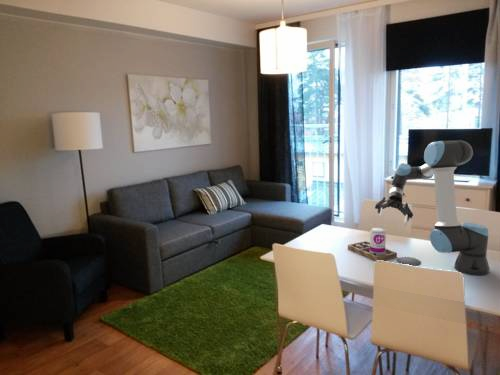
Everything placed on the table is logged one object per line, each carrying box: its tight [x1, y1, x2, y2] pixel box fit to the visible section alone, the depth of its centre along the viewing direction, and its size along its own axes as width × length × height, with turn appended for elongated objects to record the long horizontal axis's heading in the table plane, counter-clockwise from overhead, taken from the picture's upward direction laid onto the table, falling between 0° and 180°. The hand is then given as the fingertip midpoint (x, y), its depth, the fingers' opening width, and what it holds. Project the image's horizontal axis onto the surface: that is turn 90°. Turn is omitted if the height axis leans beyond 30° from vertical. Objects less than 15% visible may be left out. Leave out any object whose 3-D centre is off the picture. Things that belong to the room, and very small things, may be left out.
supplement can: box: [369, 227, 387, 256], centre depth 218 cm, size 8×8×15 cm
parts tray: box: [347, 240, 398, 262], centre depth 223 cm, size 24×14×3 cm, turn 26°
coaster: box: [396, 256, 422, 267], centre depth 208 cm, size 12×12×1 cm
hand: (392, 220), depth 213 cm, fingers open, 13 cm apart
